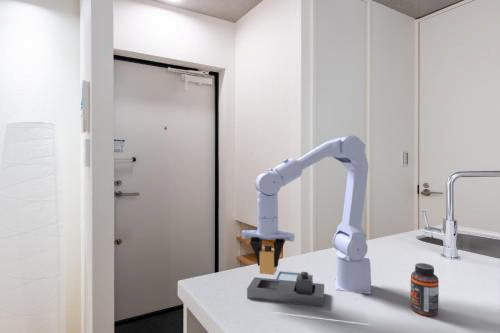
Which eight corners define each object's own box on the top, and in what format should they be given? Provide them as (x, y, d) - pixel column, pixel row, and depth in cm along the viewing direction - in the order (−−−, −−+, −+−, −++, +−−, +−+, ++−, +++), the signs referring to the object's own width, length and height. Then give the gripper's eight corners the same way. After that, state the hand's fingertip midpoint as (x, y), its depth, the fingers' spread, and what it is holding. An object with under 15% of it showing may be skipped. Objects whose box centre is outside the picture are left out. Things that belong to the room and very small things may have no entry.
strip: (324, 294, 83) (324, 284, 83) (323, 308, 75) (323, 296, 75) (254, 287, 88) (254, 277, 88) (247, 299, 81) (247, 288, 81)
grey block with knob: (312, 296, 82) (312, 270, 82) (311, 303, 78) (311, 276, 78) (298, 295, 83) (297, 269, 83) (296, 302, 79) (296, 275, 79)
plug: (276, 269, 85) (276, 244, 85) (274, 274, 81) (273, 248, 81) (262, 268, 86) (262, 243, 86) (259, 273, 82) (259, 247, 82)
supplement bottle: (405, 305, 77) (405, 261, 76) (427, 304, 77) (427, 260, 77) (420, 318, 71) (420, 270, 70) (444, 316, 71) (444, 269, 71)
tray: (310, 276, 96) (310, 273, 96) (307, 290, 86) (307, 286, 86) (277, 273, 99) (277, 270, 99) (271, 286, 89) (271, 283, 89)
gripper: (295, 214, 85) (296, 262, 85) (246, 212, 88) (246, 258, 89) (292, 219, 78) (292, 271, 78) (239, 217, 82) (239, 266, 82)
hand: (268, 265), depth 83 cm, fingers closed on plug, 4 cm apart
